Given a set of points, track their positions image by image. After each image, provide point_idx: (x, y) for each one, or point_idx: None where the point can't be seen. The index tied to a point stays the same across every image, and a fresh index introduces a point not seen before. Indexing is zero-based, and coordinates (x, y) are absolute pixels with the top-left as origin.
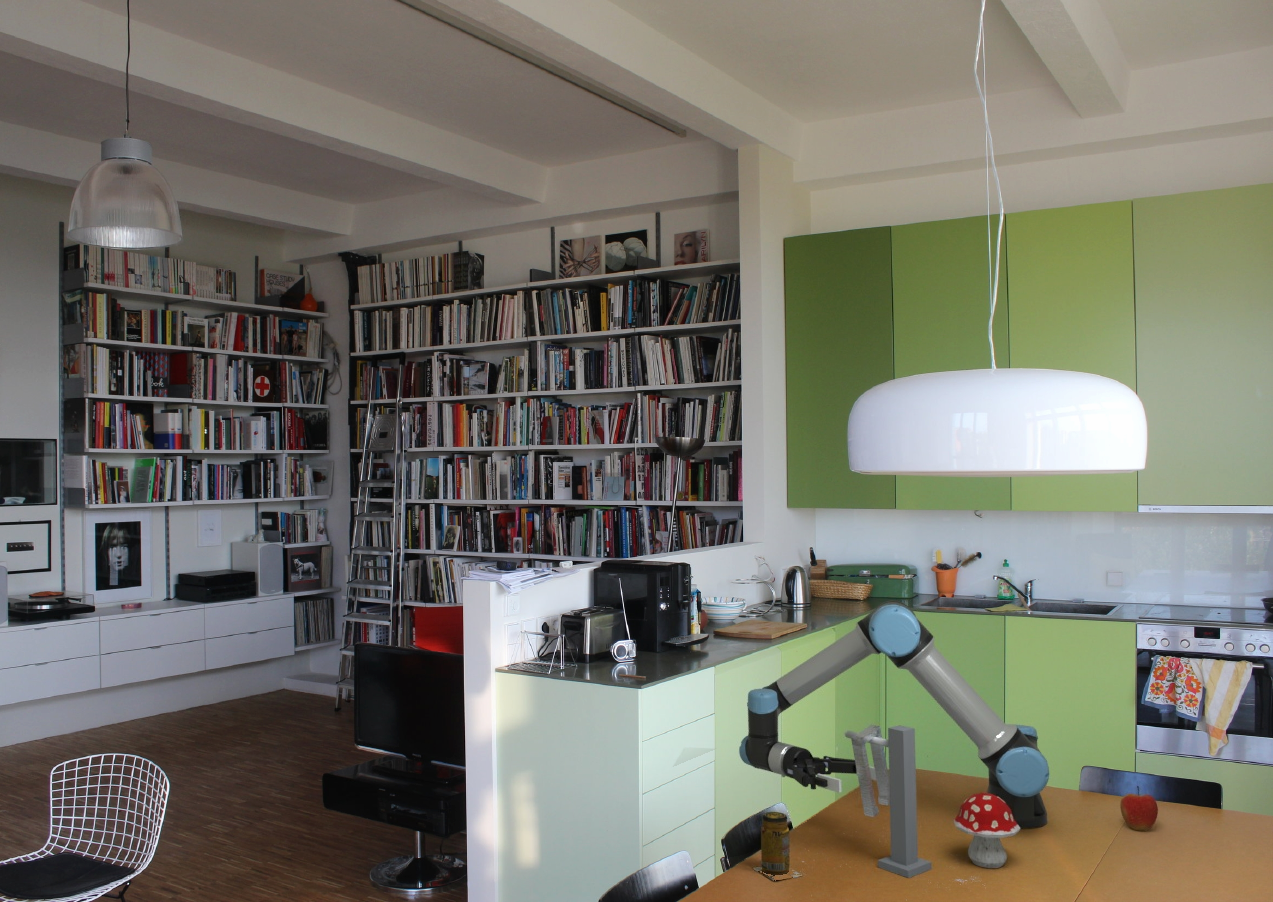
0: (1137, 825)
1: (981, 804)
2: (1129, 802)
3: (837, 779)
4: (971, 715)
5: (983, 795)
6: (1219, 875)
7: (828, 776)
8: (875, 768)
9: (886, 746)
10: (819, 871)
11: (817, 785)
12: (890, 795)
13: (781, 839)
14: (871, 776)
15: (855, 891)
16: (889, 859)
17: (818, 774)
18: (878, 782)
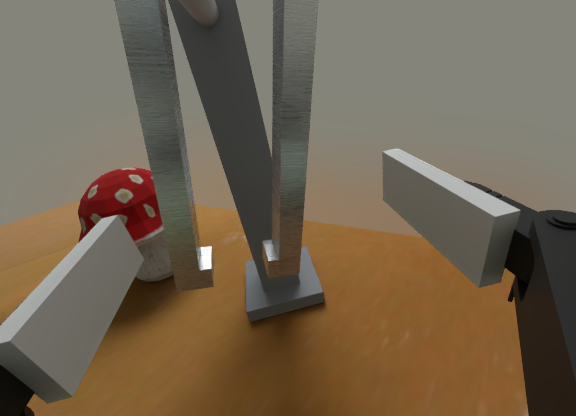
0: None
1: (150, 172)
2: None
3: (398, 153)
4: None
5: (122, 170)
6: (78, 208)
7: (432, 178)
8: (183, 164)
9: (215, 15)
10: (476, 324)
11: (499, 277)
12: (271, 160)
13: None
14: (122, 277)
15: (420, 239)
16: (298, 288)
17: (505, 205)
18: (192, 220)
